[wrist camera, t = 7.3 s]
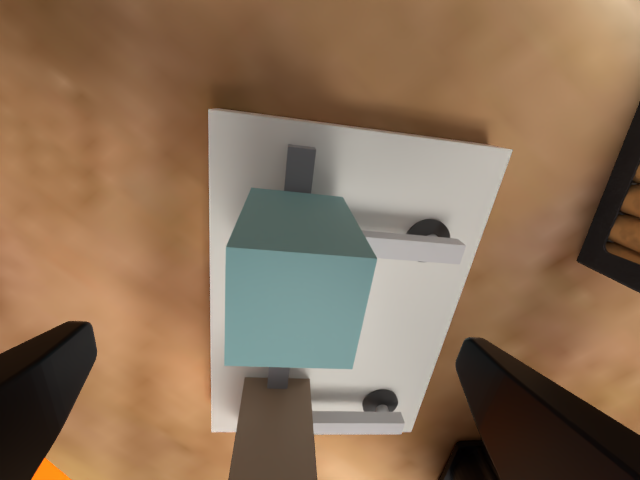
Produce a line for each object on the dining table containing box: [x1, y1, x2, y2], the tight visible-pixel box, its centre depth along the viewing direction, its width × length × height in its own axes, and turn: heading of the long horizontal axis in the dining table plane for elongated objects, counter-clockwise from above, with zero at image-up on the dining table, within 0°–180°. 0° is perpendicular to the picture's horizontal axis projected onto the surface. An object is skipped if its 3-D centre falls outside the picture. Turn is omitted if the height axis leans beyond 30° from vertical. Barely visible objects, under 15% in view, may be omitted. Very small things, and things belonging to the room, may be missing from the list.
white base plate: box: [208, 108, 513, 480], centre depth 16 cm, size 20×14×8 cm
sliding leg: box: [224, 188, 466, 369], centre depth 12 cm, size 4×10×7 cm, turn 83°
